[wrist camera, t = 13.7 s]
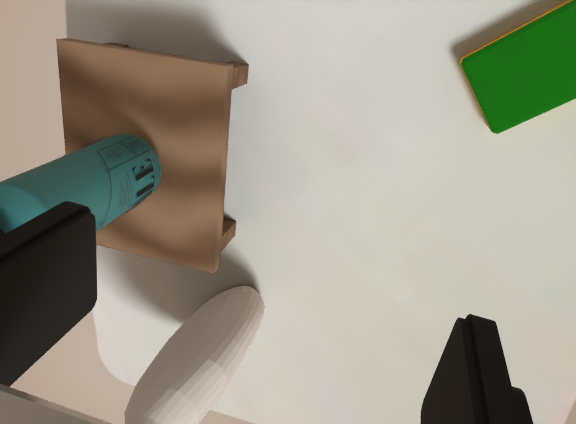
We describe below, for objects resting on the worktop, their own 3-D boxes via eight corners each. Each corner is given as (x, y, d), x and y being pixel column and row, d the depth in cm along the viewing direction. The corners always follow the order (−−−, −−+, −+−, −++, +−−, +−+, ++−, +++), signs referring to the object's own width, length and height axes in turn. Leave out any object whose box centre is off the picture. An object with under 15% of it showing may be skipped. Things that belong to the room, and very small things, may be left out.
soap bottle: (214, 358, 61) (82, 583, 37) (173, 313, 60) (10, 514, 36) (298, 311, 55) (206, 543, 31) (255, 259, 54) (124, 458, 30)
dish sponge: (663, 50, 37) (678, 52, 35) (489, 129, 43) (493, 136, 40) (633, -36, 36) (647, -39, 34) (457, 58, 41) (459, 61, 39)
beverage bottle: (99, 135, 44) (-120, 217, 26) (159, 120, 42) (-34, 198, 24) (124, 199, 46) (-62, 316, 28) (182, 188, 44) (21, 307, 26)
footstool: (106, 35, 48) (56, 39, 41) (255, 58, 45) (226, 66, 38) (113, 212, 56) (72, 238, 49) (239, 241, 53) (214, 273, 46)
